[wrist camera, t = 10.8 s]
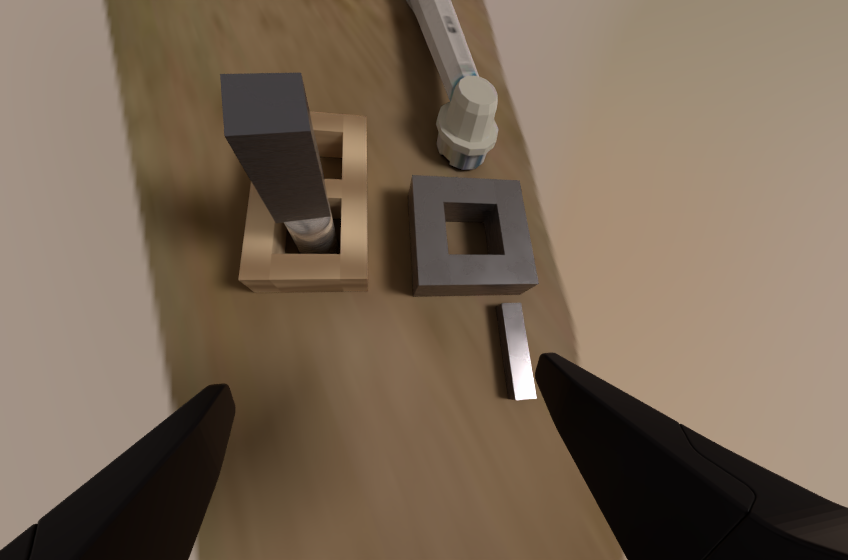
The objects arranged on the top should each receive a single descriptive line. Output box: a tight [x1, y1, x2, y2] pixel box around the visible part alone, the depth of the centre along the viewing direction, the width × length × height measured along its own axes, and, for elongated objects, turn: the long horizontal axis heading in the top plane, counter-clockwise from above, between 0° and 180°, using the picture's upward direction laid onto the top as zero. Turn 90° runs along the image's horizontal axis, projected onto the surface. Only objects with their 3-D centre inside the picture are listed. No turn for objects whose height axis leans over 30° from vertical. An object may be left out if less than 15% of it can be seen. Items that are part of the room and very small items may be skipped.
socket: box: [408, 175, 539, 297], centre depth 25 cm, size 9×9×3 cm
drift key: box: [496, 303, 536, 400], centre depth 23 cm, size 7×2×1 cm, turn 3°
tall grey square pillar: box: [220, 73, 338, 254], centre depth 18 cm, size 3×3×13 cm
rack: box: [238, 112, 368, 293], centre depth 24 cm, size 14×8×3 cm, turn 3°
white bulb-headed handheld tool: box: [406, 0, 498, 170], centre depth 30 cm, size 5×7×25 cm
